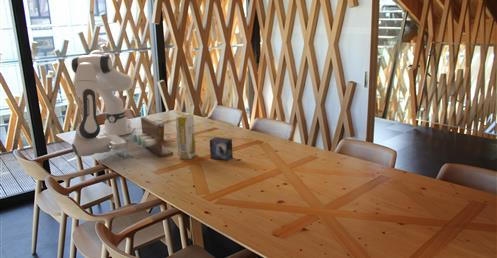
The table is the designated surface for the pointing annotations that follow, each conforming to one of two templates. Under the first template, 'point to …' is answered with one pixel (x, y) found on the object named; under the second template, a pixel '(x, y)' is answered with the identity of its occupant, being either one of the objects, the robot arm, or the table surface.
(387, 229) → the table surface
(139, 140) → the button middle
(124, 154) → the card
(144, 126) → the brown wooden rack
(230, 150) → the small box
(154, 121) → the disposable coffee cup
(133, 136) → the button
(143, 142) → the button
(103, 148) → the robot arm
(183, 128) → the juice carton
